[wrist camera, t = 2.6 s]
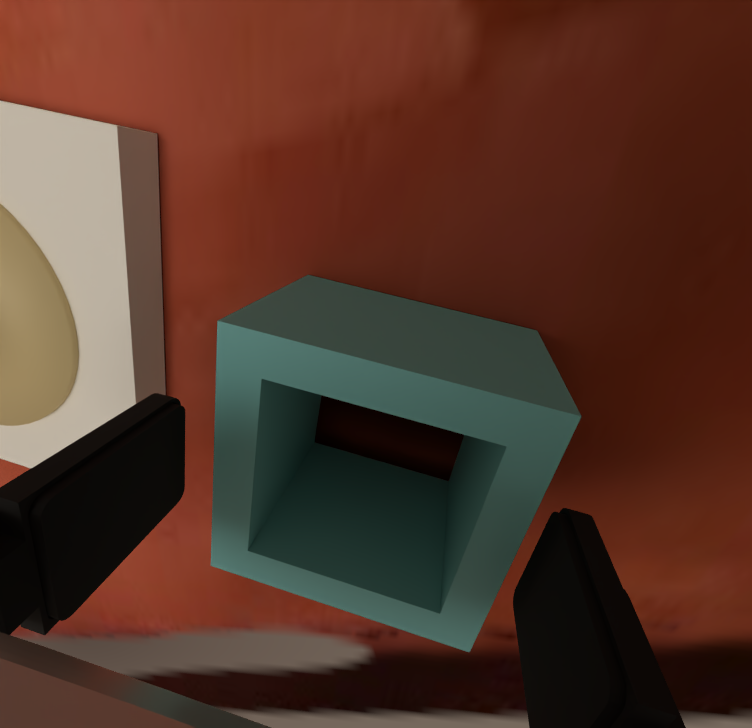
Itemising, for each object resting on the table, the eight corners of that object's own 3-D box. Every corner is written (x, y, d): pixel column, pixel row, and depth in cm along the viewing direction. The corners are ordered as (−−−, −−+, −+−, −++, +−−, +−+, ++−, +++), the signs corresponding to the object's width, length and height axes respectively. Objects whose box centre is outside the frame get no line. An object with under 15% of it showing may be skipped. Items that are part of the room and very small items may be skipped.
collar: (537, 330, 12) (581, 416, 7) (468, 510, 15) (469, 652, 10) (307, 274, 12) (217, 320, 8) (286, 456, 15) (210, 565, 11)
